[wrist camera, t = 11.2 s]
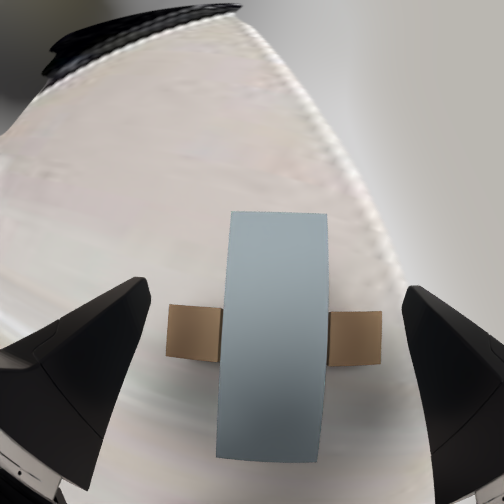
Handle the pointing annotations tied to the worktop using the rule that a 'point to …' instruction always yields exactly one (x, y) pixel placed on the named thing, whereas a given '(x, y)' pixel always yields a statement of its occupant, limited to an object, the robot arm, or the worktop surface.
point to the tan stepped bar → (338, 341)
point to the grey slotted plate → (274, 337)
